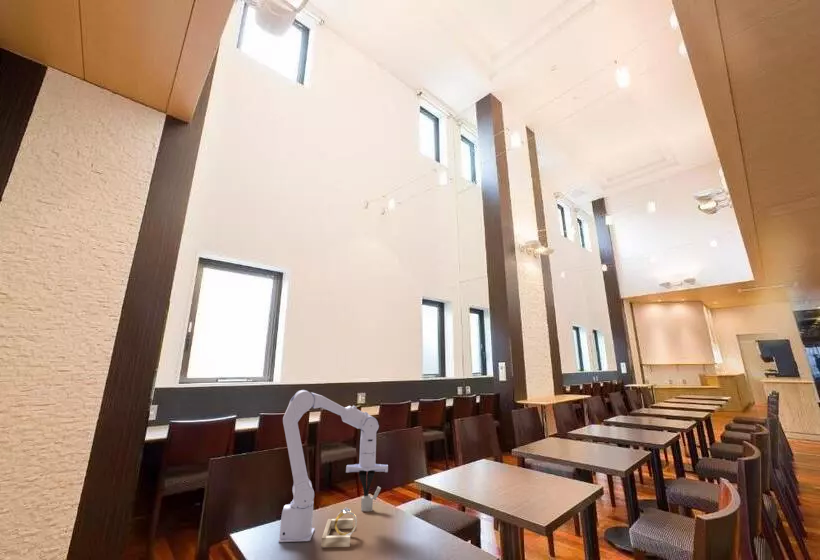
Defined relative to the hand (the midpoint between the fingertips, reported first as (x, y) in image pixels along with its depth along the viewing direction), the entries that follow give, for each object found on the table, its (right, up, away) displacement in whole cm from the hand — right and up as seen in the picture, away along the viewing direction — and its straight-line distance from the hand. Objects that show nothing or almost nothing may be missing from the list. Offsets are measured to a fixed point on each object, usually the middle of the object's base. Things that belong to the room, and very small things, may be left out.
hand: (366, 494), depth 118 cm
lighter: (0, -13, +10) cm, 16 cm away
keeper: (-7, -7, -10) cm, 14 cm away
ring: (-5, -7, -10) cm, 13 cm away
